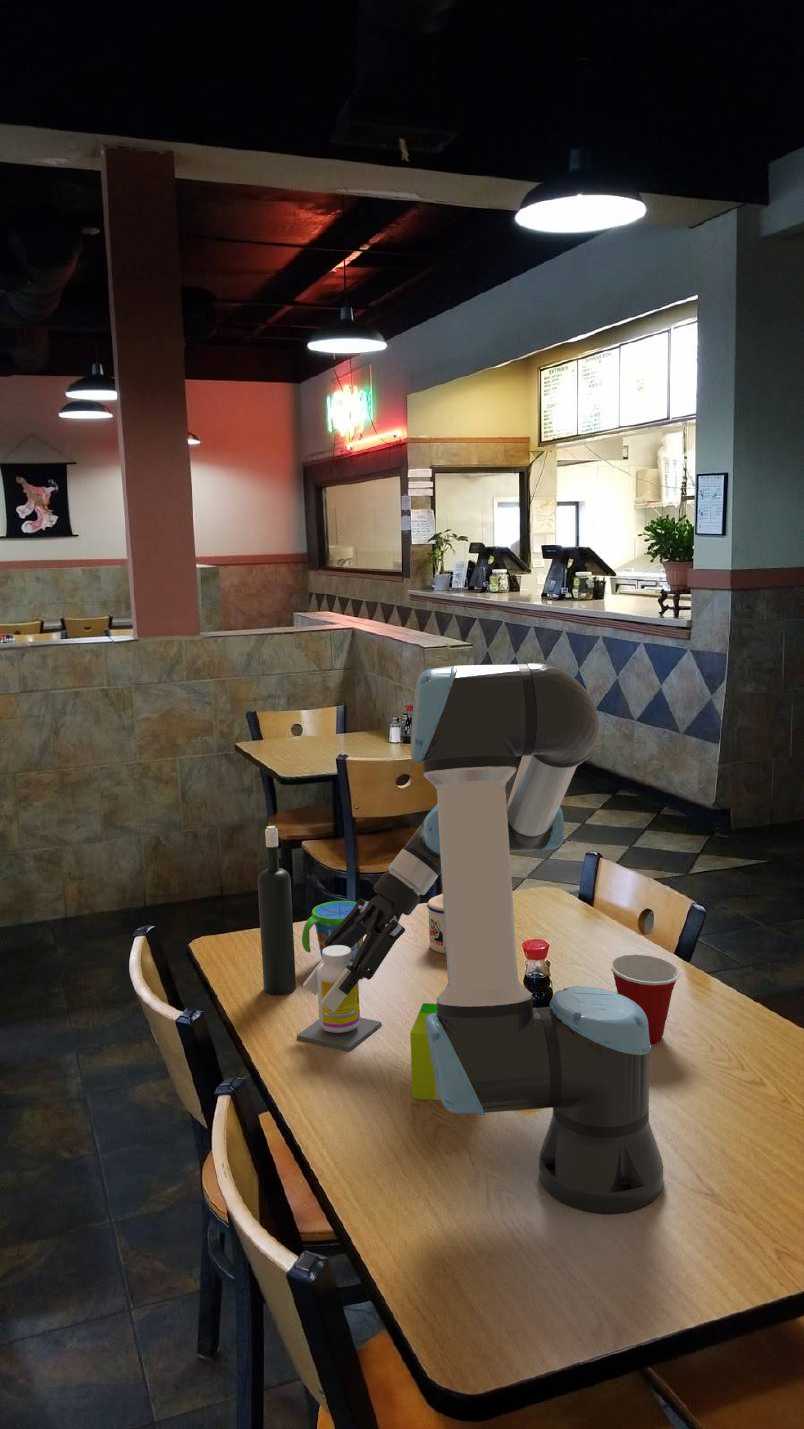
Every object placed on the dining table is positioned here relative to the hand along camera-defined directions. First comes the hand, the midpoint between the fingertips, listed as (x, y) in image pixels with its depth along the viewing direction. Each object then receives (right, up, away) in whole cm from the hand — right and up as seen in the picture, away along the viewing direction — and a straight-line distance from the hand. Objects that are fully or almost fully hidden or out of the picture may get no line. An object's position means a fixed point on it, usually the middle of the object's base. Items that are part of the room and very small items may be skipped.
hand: (318, 998), depth 173 cm
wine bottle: (-8, -4, +20) cm, 23 cm away
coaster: (+3, -6, +3) cm, 8 cm away
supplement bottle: (+3, -5, +2) cm, 7 cm away
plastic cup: (+52, -6, -3) cm, 52 cm away
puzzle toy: (+21, -9, -15) cm, 27 cm away
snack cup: (+2, -2, +33) cm, 33 cm away
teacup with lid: (+24, 0, +37) cm, 44 cm away
